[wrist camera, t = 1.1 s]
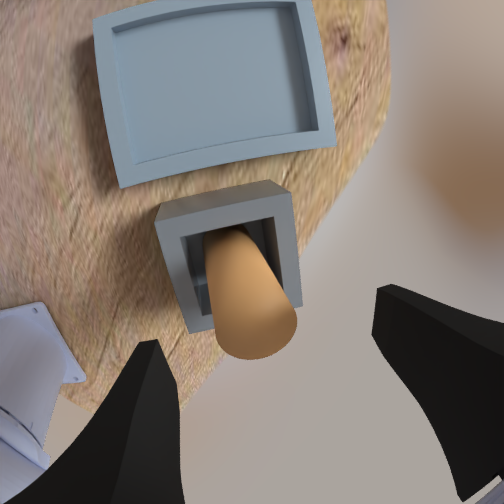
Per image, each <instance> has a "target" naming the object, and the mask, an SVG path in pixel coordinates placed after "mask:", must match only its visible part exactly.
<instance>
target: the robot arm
mask: <svg viewBox="0 0 504 504" xmlns="http://www.w3.org/2000/svg"><path fill="white" fill-rule="evenodd" d="M34 308H35V309H37V311H36V310H35V309H34ZM372 337H373V338H374V340H375V342H376V344H377V346H378V347H379V349H380V351H381V353H382V354H383V356H384V358H385V359H386V360H387V362H388V363H389V364H390V366H391V367H392V368H393V370H394V371H395V372H396V374H397V375H398V376H399V378H400V379H401V380H402V381H403V383H404V384H405V385H406V387H407V388H408V389H409V391H410V392H411V393H412V395H413V396H414V397H415V399H416V400H417V402H418V403H419V404H420V406H421V408H422V409H423V411H424V413H425V414H426V416H427V418H428V420H429V422H430V423H431V425H432V427H433V429H434V431H435V433H436V436H437V438H438V440H439V442H440V444H441V446H442V448H443V451H444V454H445V456H446V459H447V461H448V464H449V466H450V469H451V473H452V476H453V479H454V482H455V486H456V490H457V495H458V496H459V498H460V499H461V501H462V502H464V501H466V500H467V499H469V498H470V497H471V496H473V495H474V494H475V493H477V492H478V491H479V490H481V489H482V488H483V487H485V486H486V485H487V484H488V483H490V482H491V481H492V480H493V479H494V478H495V477H496V476H498V475H499V476H500V477H501V479H502V481H501V482H500V483H499V484H498V485H497V486H495V487H494V488H493V489H492V490H491V491H490V492H488V493H487V494H486V495H485V496H484V497H483V498H481V499H480V500H479V501H478V502H477V503H475V504H504V323H501V322H497V321H493V320H490V319H485V318H482V317H479V316H476V315H473V314H470V313H467V312H464V311H461V310H459V309H456V308H453V307H451V306H448V305H446V304H443V303H440V302H438V301H435V300H433V299H431V298H428V297H426V296H423V295H421V294H418V293H416V292H413V291H411V290H408V289H405V288H402V287H400V286H397V285H393V284H390V285H386V286H383V287H380V288H377V294H376V303H375V312H374V320H373V327H372ZM85 381H86V375H85V373H84V372H83V370H82V368H81V367H80V365H79V364H78V362H77V361H76V359H75V357H74V356H73V354H72V353H71V351H70V349H69V348H68V346H67V344H66V343H65V341H64V339H63V337H62V336H61V334H60V332H59V330H58V328H57V327H56V325H55V323H54V321H53V319H52V317H51V315H50V313H49V312H48V310H47V308H46V306H45V304H44V303H42V302H34V303H30V304H26V305H21V306H17V307H13V308H8V309H4V310H0V504H185V500H184V495H183V489H182V483H181V473H180V409H179V400H178V392H177V383H176V381H175V379H174V377H173V374H172V372H171V370H170V367H169V365H168V363H167V361H166V358H165V356H164V353H163V351H162V349H161V346H160V344H159V341H158V339H155V340H149V341H143V342H139V343H138V345H137V346H136V348H135V350H134V351H133V353H132V355H131V356H130V358H129V360H128V361H127V363H126V365H125V366H124V368H123V370H122V372H121V373H120V375H119V377H118V378H117V380H116V381H115V383H114V385H113V386H112V388H111V390H110V391H109V393H108V395H107V396H106V398H105V399H104V401H103V402H102V404H101V405H100V407H99V408H98V410H97V411H96V413H95V414H94V416H93V417H92V419H91V420H90V421H89V423H88V424H87V425H86V427H85V428H84V429H83V431H82V432H81V433H80V434H79V435H78V437H77V438H76V439H75V441H74V442H73V443H72V444H71V445H70V446H69V447H68V448H67V449H66V450H65V451H64V453H63V454H62V455H61V456H60V457H59V458H58V459H57V460H56V461H55V462H54V463H53V464H52V465H51V466H50V467H49V468H48V466H49V461H50V456H49V455H48V454H46V453H45V452H44V451H43V446H44V442H45V438H46V434H47V430H48V427H49V423H50V420H51V416H52V413H53V410H54V406H55V403H56V400H57V397H58V394H59V391H60V388H61V385H62V384H66V383H78V382H85Z"/></svg>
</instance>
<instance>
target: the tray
mask: <svg viewBox="0 0 504 504" xmlns="http://www.w3.org/2000/svg"><path fill="white" fill-rule="evenodd" d="M92 20H93V34H94V46H95V56H96V65H97V73H98V80H99V87H100V94H101V100H102V106H103V112H104V118H105V123H106V129H107V134H108V139H109V144H110V148H111V153H112V157H113V162H114V166H115V170H116V175H117V179H118V183H119V187H120V189H122V188H125V187H129V186H132V185H136V184H139V183H143V182H147V181H151V180H155V179H159V178H162V177H166V176H171V175H175V174H179V173H183V172H187V171H192V170H196V169H201V168H205V167H210V166H215V165H220V164H225V163H230V162H235V161H240V160H246V159H251V158H257V157H263V156H269V155H275V154H281V153H288V152H295V151H302V150H309V149H317V148H325V147H334V146H337V142H336V134H335V125H334V118H333V110H332V103H331V96H330V90H329V84H328V78H327V72H326V66H325V61H324V55H323V50H322V45H321V40H320V35H319V31H318V26H317V22H316V17H315V13H314V9H313V5H312V1H311V0H157V1H153V2H148V3H144V4H140V5H137V6H133V7H129V8H126V9H122V10H119V11H116V12H113V13H110V14H107V15H104V16H101V17H98V18H95V19H92Z"/></svg>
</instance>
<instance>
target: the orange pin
mask: <svg viewBox="0 0 504 504" xmlns="http://www.w3.org/2000/svg"><path fill="white" fill-rule="evenodd" d="M202 247H203V254H204V262H205V269H206V276H207V283H208V290H209V296H210V303H211V309H212V316H213V322H214V328H215V334H216V339H217V341H218V344H219V345H220V347H221V348H222V349H223V350H224V351H225V352H226V353H228V354H229V355H231V356H234V357H236V358H239V359H247V360H253V359H260V358H265V357H268V356H270V355H272V354H274V353H276V352H278V351H279V350H281V349H282V348H283V347H284V346H286V344H288V342H289V341H290V340H291V338H292V337H293V335H294V333H295V330H296V327H297V316H296V312H295V310H294V308H293V306H292V305H291V303H290V301H289V300H288V298H287V296H286V294H285V293H284V291H283V289H282V288H281V286H280V284H279V283H278V281H277V279H276V277H275V276H274V274H273V272H272V271H271V269H270V267H269V266H268V264H267V262H266V261H265V259H264V257H263V255H262V254H261V252H260V250H259V249H258V247H257V245H256V244H255V242H254V240H253V239H252V237H251V235H250V234H249V232H248V230H247V229H246V228H245V227H244V226H243V225H242V224H236V225H231V226H227V227H222V228H218V229H213V230H209V231H207V232H206V233H205V235H204V238H203V243H202Z"/></svg>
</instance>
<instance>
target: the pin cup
mask: <svg viewBox="0 0 504 504" xmlns="http://www.w3.org/2000/svg"><path fill="white" fill-rule="evenodd" d="M236 224H242V225H243V226H244V227H245V228H246V229H247V230H248V232H249V234H250V235H251V237H252V239H253V240H254V242H255V244H256V245H257V247H258V249H259V250H260V252H261V254H262V255H263V257H264V259H265V261H266V262H267V264H268V266H269V267H270V269H271V271H272V272H273V274H274V276H275V277H276V279H277V281H278V283H279V284H280V286H281V288H282V289H283V291H284V293H285V294H286V296H287V298H288V300H289V301H290V303H291V305H292V306H293V308H297V307H301V306H303V303H302V291H301V281H300V280H301V279H300V269H299V258H298V249H297V239H296V230H295V221H294V212H293V204H292V196H291V192H290V191H288V190H286V189H285V188H283V187H281V186H280V185H278V184H276V183H275V182H273V181H271V180H270V179H269V180H264V181H259V182H254V183H248V184H243V185H238V186H234V187H229V188H224V189H219V190H215V191H210V192H205V193H201V194H197V195H192V196H188V197H184V198H179V199H175V200H171V201H167V202H163V203H161V205H160V208H159V210H158V213H157V216H156V218H155V221H154V225H155V228H156V232H157V235H158V239H159V242H160V246H161V249H162V253H163V256H164V259H165V263H166V266H167V269H168V272H169V275H170V279H171V282H172V285H173V288H174V291H175V294H176V297H177V300H178V303H179V306H180V309H181V312H182V315H183V318H184V320H185V323H186V326H187V329H188V332H189V334H192V333H196V332H201V331H205V330H210V329H214V322H213V316H212V309H211V303H210V296H209V290H208V283H207V276H206V269H205V262H204V254H203V247H202V243H203V238H204V235H205V233H206V232H207V231H209V230H213V229H218V228H222V227H227V226H231V225H236Z"/></svg>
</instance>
